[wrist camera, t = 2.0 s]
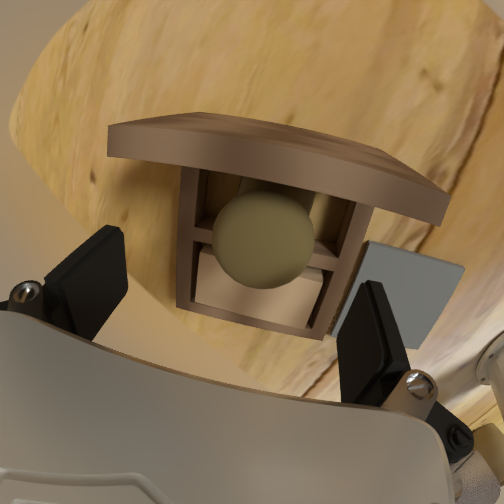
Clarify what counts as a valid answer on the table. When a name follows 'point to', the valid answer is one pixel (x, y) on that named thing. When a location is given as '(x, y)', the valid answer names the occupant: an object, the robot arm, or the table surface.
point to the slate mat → (406, 288)
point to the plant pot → (491, 448)
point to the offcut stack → (257, 293)
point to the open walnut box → (280, 171)
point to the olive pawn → (265, 234)
